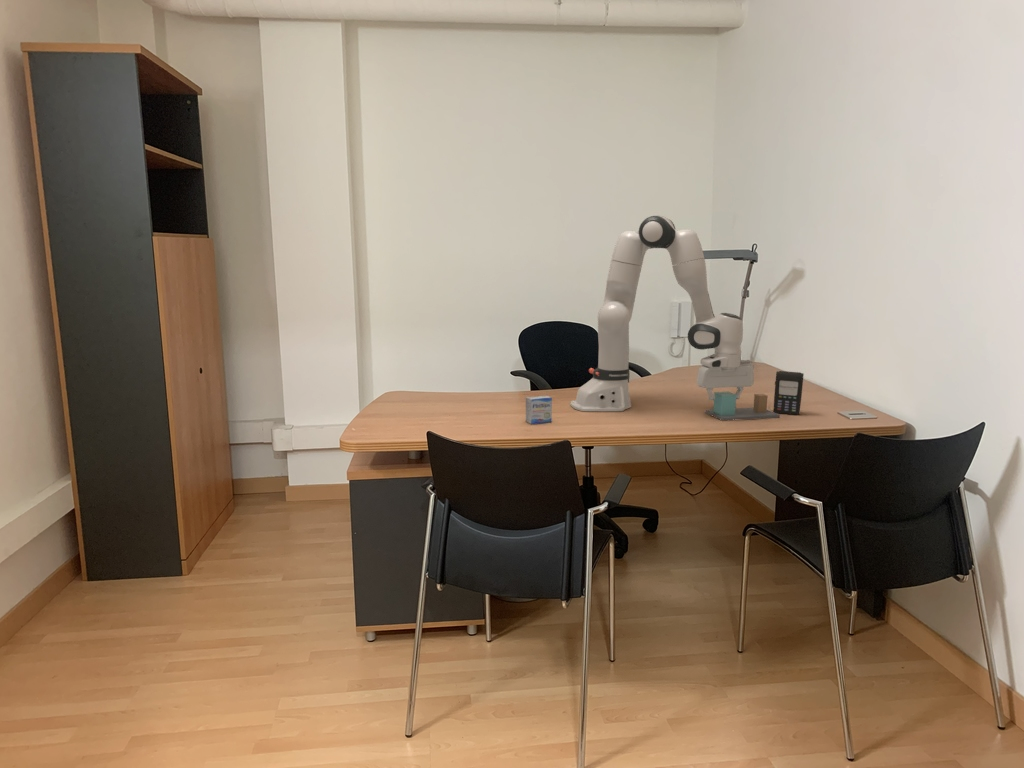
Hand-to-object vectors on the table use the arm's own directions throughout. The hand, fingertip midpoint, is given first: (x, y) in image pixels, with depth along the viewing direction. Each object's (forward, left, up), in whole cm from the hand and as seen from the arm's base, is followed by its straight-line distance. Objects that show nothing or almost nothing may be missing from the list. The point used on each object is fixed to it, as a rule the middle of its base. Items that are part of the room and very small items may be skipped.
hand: (724, 399), depth 252 cm
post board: (+7, 0, -6) cm, 9 cm away
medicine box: (-66, +6, -6) cm, 66 cm away
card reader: (+24, -1, -6) cm, 25 cm away
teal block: (0, 0, -5) cm, 5 cm away
